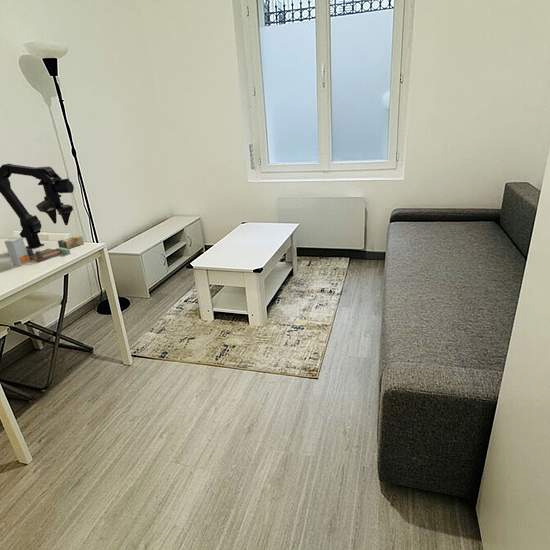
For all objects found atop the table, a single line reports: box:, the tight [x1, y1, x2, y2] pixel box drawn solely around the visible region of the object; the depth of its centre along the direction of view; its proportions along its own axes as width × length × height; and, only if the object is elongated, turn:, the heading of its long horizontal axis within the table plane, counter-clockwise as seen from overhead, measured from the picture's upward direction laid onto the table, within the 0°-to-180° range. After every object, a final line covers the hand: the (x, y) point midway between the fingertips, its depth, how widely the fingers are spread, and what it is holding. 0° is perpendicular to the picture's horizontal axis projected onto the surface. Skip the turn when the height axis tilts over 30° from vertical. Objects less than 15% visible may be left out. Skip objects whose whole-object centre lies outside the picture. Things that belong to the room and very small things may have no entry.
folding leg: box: [57, 235, 85, 250], centre depth 195 cm, size 12×4×5 cm, turn 149°
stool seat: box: [26, 247, 63, 263], centre depth 185 cm, size 11×13×4 cm
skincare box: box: [4, 236, 31, 267], centre depth 176 cm, size 6×4×12 cm
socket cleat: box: [57, 247, 71, 256], centre depth 187 cm, size 7×2×2 cm, turn 59°
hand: (60, 224), depth 196 cm, fingers open, 9 cm apart
